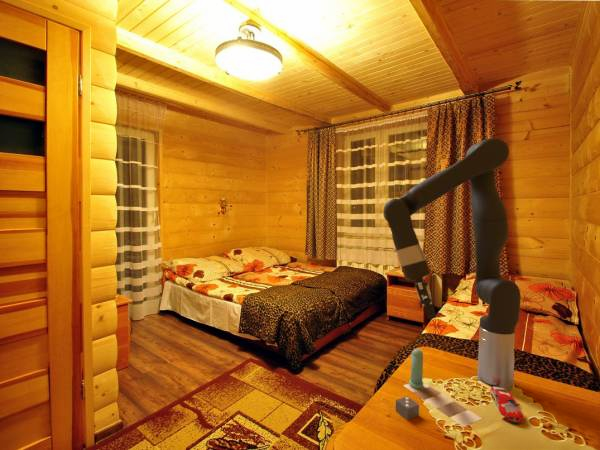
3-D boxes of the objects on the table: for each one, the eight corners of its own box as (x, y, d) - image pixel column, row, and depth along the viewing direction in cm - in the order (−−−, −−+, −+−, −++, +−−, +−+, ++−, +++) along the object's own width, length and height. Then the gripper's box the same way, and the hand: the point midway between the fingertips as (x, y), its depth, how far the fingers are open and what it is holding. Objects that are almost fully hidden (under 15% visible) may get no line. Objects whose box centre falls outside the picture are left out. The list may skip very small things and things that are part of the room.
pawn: (416, 381, 95) (417, 345, 94) (426, 387, 91) (427, 350, 91) (406, 384, 93) (407, 348, 93) (416, 390, 90) (417, 353, 89)
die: (406, 410, 82) (407, 394, 82) (418, 419, 79) (419, 403, 79) (395, 415, 81) (395, 398, 80) (407, 424, 77) (407, 407, 77)
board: (420, 383, 96) (420, 379, 96) (483, 422, 78) (483, 418, 78) (401, 389, 92) (401, 385, 92) (462, 432, 74) (462, 427, 74)
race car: (526, 428, 77) (527, 413, 76) (501, 423, 78) (502, 408, 78) (509, 398, 89) (509, 384, 89) (487, 394, 91) (488, 381, 91)
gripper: (425, 258, 86) (447, 317, 82) (425, 258, 99) (444, 309, 95) (398, 266, 88) (418, 323, 85) (402, 265, 101) (419, 314, 98)
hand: (432, 315), depth 90 cm, fingers open, 8 cm apart
